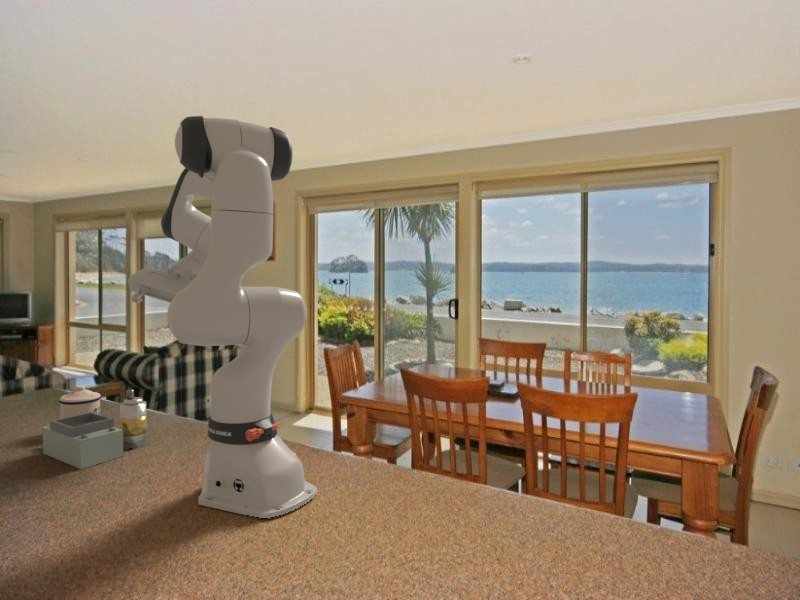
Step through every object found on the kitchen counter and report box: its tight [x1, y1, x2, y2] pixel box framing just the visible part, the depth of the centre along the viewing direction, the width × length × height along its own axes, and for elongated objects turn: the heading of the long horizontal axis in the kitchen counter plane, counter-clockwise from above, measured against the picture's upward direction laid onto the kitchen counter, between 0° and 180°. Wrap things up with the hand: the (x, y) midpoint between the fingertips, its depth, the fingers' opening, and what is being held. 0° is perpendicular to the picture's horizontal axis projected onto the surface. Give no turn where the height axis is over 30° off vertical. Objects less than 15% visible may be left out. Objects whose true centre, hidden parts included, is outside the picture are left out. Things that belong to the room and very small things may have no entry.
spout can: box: [119, 388, 148, 449], centre depth 124 cm, size 6×6×13 cm
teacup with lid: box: [58, 385, 102, 419], centre depth 134 cm, size 12×9×12 cm
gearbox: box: [42, 412, 124, 470], centre depth 118 cm, size 20×9×8 cm, turn 58°
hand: (153, 305), depth 123 cm, fingers open, 8 cm apart
